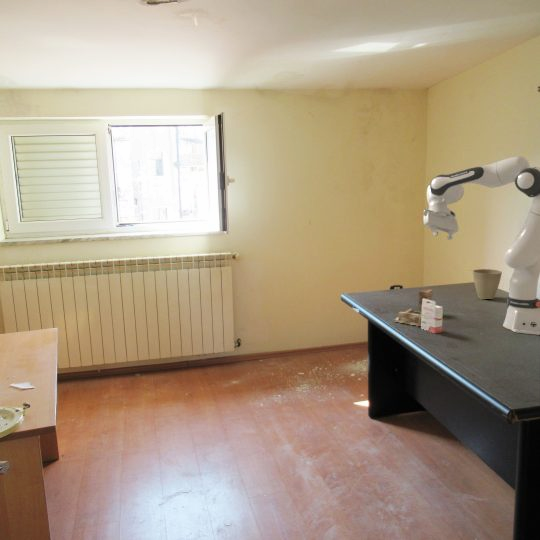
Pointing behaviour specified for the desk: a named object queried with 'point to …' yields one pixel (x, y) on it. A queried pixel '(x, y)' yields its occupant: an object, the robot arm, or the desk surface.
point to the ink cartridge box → (431, 316)
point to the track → (409, 317)
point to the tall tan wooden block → (426, 295)
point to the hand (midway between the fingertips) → (443, 237)
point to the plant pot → (486, 282)
